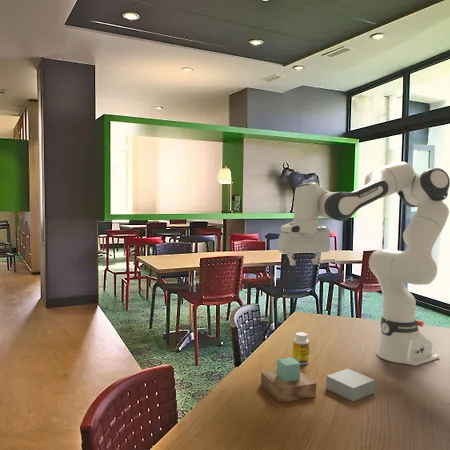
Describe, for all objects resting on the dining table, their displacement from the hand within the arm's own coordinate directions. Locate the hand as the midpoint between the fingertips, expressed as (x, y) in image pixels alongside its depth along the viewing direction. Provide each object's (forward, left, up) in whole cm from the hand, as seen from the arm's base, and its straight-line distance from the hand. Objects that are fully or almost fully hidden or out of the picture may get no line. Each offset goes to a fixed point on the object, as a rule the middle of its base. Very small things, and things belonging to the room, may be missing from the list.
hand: (304, 264), depth 160 cm
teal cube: (+20, +26, -29) cm, 44 cm away
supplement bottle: (+5, +8, -33) cm, 35 cm away
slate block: (+2, +32, -33) cm, 46 cm away
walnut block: (+20, +26, -33) cm, 47 cm away
